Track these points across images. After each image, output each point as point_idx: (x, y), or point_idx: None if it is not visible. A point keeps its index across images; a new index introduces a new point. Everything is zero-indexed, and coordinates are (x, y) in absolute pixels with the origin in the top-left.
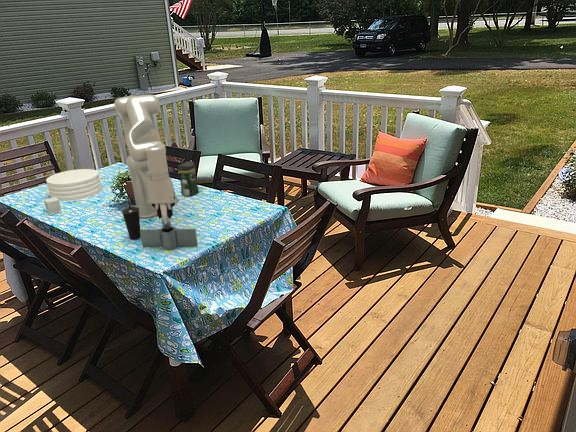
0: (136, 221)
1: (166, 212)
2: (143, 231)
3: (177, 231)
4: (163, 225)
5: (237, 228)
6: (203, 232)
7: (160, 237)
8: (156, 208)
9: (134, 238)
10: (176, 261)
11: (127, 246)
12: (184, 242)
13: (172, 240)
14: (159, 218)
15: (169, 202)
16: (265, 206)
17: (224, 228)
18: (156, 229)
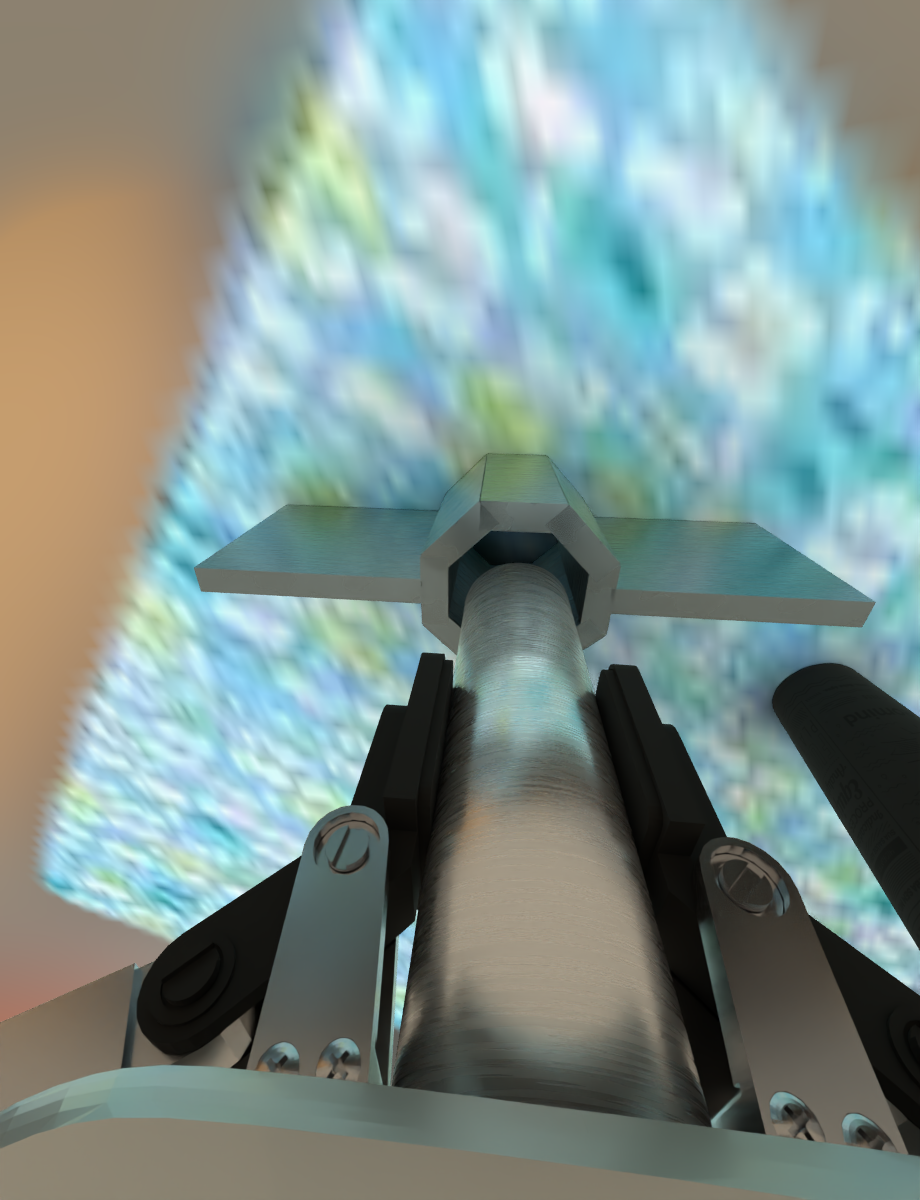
0: (900, 799)
1: (471, 751)
2: (818, 594)
3: (400, 568)
4: (555, 595)
5: (144, 735)
6: (332, 712)
7: (593, 522)
8: (754, 886)
9: (831, 670)
10: (362, 159)
11: (897, 556)
12: (375, 521)
13: (462, 492)
14: (626, 666)
15: (84, 1146)
16: (139, 911)
17: (223, 744)
18: (655, 613)
